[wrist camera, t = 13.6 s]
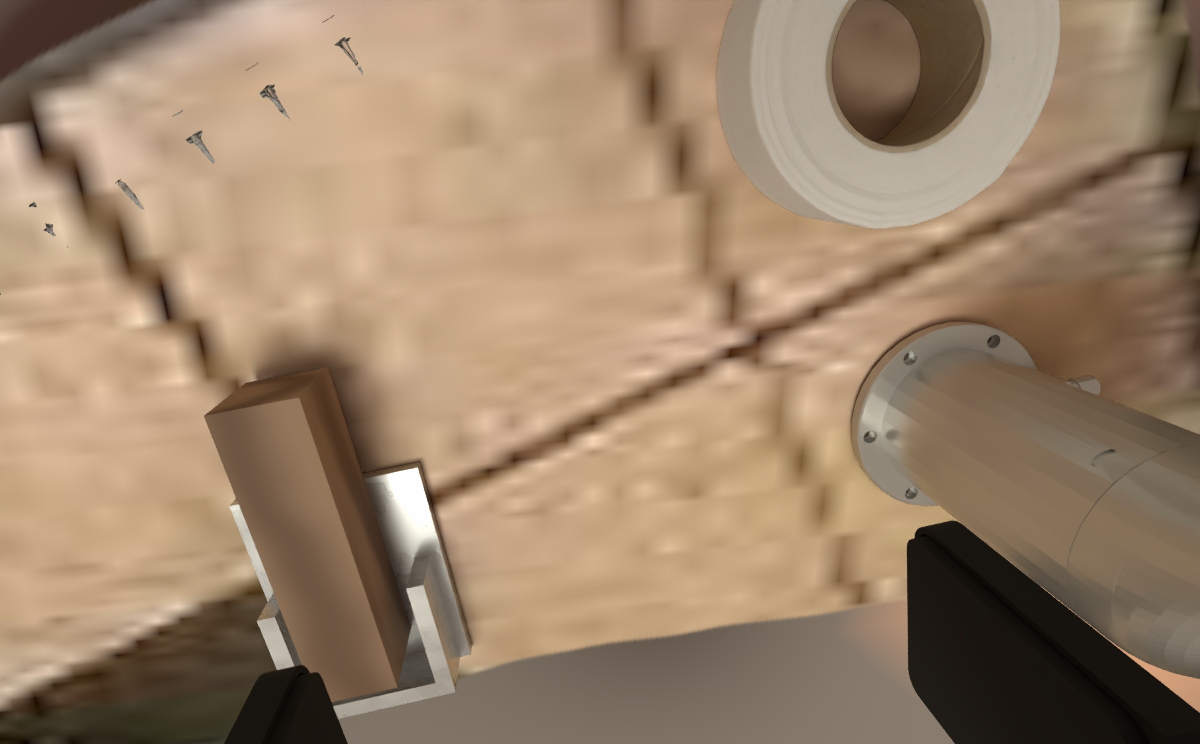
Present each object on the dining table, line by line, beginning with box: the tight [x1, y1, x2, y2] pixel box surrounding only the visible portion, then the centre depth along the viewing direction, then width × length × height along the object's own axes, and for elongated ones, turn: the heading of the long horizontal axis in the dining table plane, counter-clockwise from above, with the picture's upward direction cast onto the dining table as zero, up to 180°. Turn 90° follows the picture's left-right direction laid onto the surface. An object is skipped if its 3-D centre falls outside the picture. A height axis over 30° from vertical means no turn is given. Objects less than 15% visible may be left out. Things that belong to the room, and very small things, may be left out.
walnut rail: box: [204, 367, 411, 702], centre depth 36 cm, size 4×18×5 cm, turn 10°
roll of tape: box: [716, 0, 1060, 229], centre depth 33 cm, size 16×16×6 cm
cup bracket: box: [230, 462, 472, 719], centre depth 39 cm, size 11×14×4 cm
